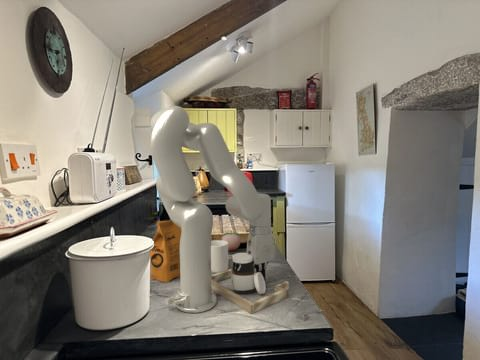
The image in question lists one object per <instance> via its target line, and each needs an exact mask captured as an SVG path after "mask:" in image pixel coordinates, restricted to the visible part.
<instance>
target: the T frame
mask: <svg viewBox="0 0 480 360" xmlns="http://www.w3.org/2000/svg"><path fill="white" fill-rule="evenodd" d="M254 271H255V272H256V269H255V268H254ZM229 278H231V268H228V269H227V270H226V271H223V272H220V273H213V274H211V286H212V291H214V292H215V293H217V294H219V295H220V296H221V297H223V298H224V299H227V300H228V301H230V302H231V303H232V304H234V305H236V306H237V307H238V308H241V309H242V310H243V311H246V312H247V313H249V314H250V315H252V314H254V313H256V312H258V311H260V310H262V309H265V308H266V307H269V306H271V305H274V304H276V303H279V302H280V301H283V300H285V299H287V298H288V290H289V289H290V282H289V281H287V280H285V281H283V282H280V283H278V284H276V285H274V286H273V293H271V294H268V295H267V296H264V297H262V298H259V299H257V300H255V301H252V302H251V301H249V300H247V298H246V299H245V298H244V297H243V296H241V295H239V294H238V293H236V292H234V291H233V290H231V289H229V288H226V287H225V286H223V285H222V284H220V283H218V282H220V281H223V280H226V279H229Z"/></svg>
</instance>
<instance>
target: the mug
mask: <svg viewBox="0 0 480 360" xmlns="http://www.w3.org/2000/svg"><path fill="white" fill-rule="evenodd" d="M226 270H229V250H228V242H227V241H223V240H222V239H219V240H218V239H216V240H211V273H213V274H217V273H220V272H223V271H226Z"/></svg>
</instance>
